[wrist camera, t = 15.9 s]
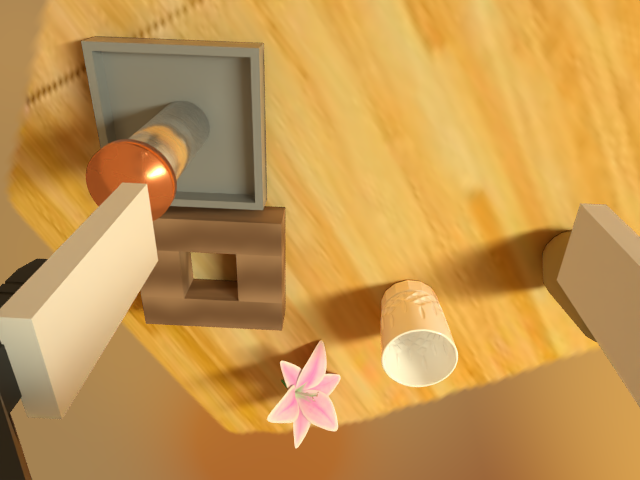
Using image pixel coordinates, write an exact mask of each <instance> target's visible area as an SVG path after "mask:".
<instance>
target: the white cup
mask: <svg viewBox="0 0 640 480" xmlns="http://www.w3.org/2000/svg"><path fill="white" fill-rule="evenodd" d="M381 310H382V313H381V361H382V366H383V369H384V371H385V372H386V374H387V375H388V376H389V377H390V378H391V379H393V380H394V381H396V382H398V383H400V384H402V385H406V386H411V387H424V386H430V385H433V384H436V383H438V382H440V381H442V380H444V379H445V378H447V377H448V376H449V375H450V374H451V373H452V372H453V370H454V369H455V367H456V364H457V361H458V352H457V348H456V346H455V343H454V340H453V337H452V334H451V332H450V329H449V326H448V323H447V320H446V318H445V316H444V313H443V310H442V308H441V306H440V304H439V301H438V298H437V296H436V294H435V293H434V291H433V290H432V288H431V287H430V286H428V285H426V284H424V283H422V282H421V281H413V280H406V281H402V282H399V283H395V284H394V285H393V286H391V287H390V288H389V289H388V290H386V291H385V294H384V296H383V298H382V300H381Z"/></svg>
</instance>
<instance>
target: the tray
mask: <svg viewBox="0 0 640 480" xmlns="http://www.w3.org/2000/svg"><path fill="white" fill-rule="evenodd" d="M81 44H82V49H83V55H84V60H85V66H86V71H87V76H88V82H89V87H90V93H91V98H92V103H93V109H94V114H95V119H96V125H97V130H98V136H99V141H100V146H101V149H102V148H103V147H104V146H105V145H107V144H108V143H111V142H113V141H116V140H121V139H129V138H130V137H131V136H132V135H134V134H135V133H136V132H137V131H138V130H139V129H141V128H142V127H143V126H144V125H145V124H146V123H147V122H149V121H150V120H151V119H152V118H153V117H154V116H156V115H157V114H158V113H159V112H160V111H161V110H163V109H164V108H165V107H166V106H167V105H169V104H170V103H172V102H175V101H188V102H191V103H193V104H195V105H197V106H198V107H199V108H200V109H201V110H202V111H203V112H204V113H205V115H206V116H207V118H208V121H209V126H210V131H209V136H208V138H207V140H206V142H205V143H204V144H203V146H202V147H201V148H200V150H199V151H198V152H197V154H196V155H195V156H194V158H193V159H192V161H191V162H190V163H189V165H188V166H187V167H186V169H185V170H184V171H183V173H182V174H181V175H180V177H179V178H178V180H177V191H176V195H175V198H174V200H173V202H172V203H171V205H170V206H182V207H203V208H225V209H246V210H263V209H264V206H265V203H266V200H267V176H266V129H265V81H264V43H249V42H224V41H199V40H174V39H149V38H124V37H99V36H95V37H92V38H89V39H86V40H83V41H81Z"/></svg>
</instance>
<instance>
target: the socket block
mask: <svg viewBox="0 0 640 480" xmlns="http://www.w3.org/2000/svg"><path fill="white" fill-rule="evenodd" d="M153 228H154V235H155V242H156V249H157V256H158V262H157V263H156V265H155V267H154V268H153V270H152V272H151V273H150V275H149V277H148V278H147V280H146V282H145V283H144V285H143V287H142V288H141V290H140V291H141V297H142V303H143V309H144V315H145V321H146V324H165V325H184V326H204V327H223V328H243V329H262V330H282V327H283V321H284V315H285V207H266V206H264V209H263V210H246V209H225V208H203V207H182V206H169V208H168V209H167V211H166V212H165V213H164V214H163V215H162V216H161V217H160V218H158V219H156V220H154V221H153ZM190 252H200V253H221V254H236V263H237V281H224V280H204V279H193V272H192V262H191V253H190Z"/></svg>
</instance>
